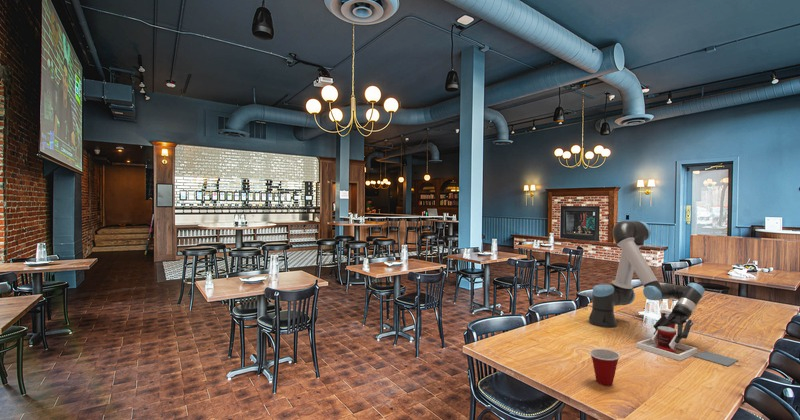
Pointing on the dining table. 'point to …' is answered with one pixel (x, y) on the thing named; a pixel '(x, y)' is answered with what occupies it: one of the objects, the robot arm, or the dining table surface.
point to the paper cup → (668, 311)
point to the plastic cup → (604, 365)
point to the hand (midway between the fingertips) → (661, 343)
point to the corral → (688, 351)
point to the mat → (716, 358)
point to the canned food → (665, 338)
